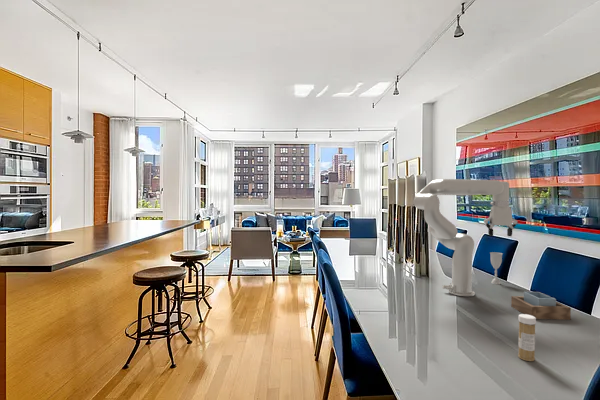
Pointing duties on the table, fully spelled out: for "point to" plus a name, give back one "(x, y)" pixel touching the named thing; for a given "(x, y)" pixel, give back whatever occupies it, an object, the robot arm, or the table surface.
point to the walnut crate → (541, 309)
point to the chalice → (496, 264)
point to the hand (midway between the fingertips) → (500, 236)
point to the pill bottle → (527, 337)
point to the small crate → (539, 299)
